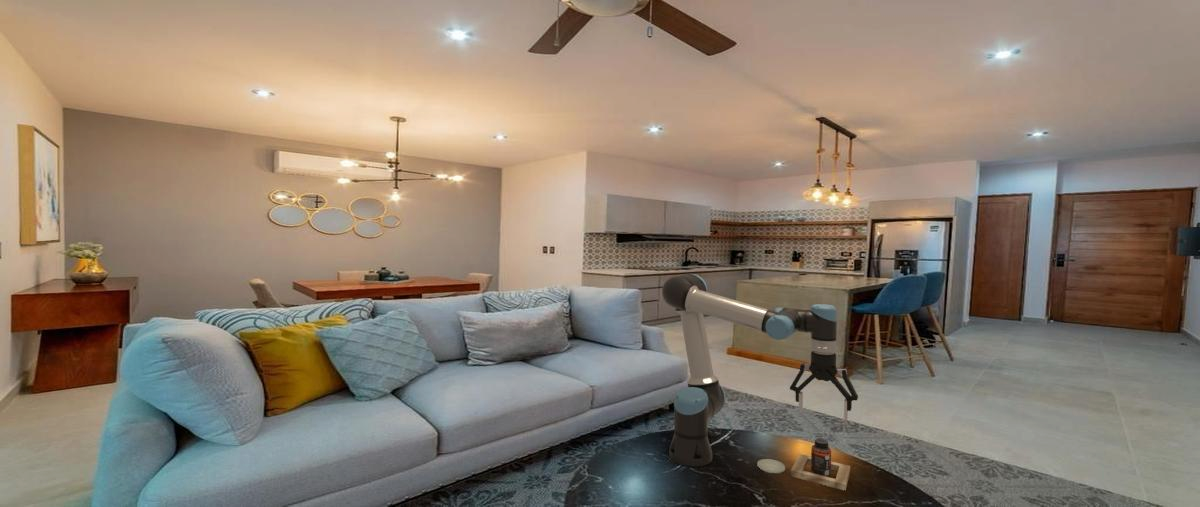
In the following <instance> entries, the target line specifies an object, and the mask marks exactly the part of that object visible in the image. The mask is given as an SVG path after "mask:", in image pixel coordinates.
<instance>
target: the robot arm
mask: <svg viewBox="0 0 1200 507" xmlns="http://www.w3.org/2000/svg"><path fill="white" fill-rule="evenodd" d="M708 291H709V290H708V286H707V283H706V281H705V280H704V279H703V278H702V277H701V276H699V275H698V274H695V273H685V274H680V275H675V276H672V277H670V278H668V279H666V280H665V282H664V283H663V285H662V289H661V295H662V298H663V301H664V302H665V303H666V304H667V305H668V306H669V307H672V308H674V309H675V312H676V313H677V314H679V315H680V320H681V326H682V332H683V339H684V345H685V351H686V356H687V362H688V368H689V369H688V370H689V374H690V377H689V379H688V380H687V387H684V388H681V389H679V390H677V391H676V393H675V395H674V401H673V407H674V408H673V410H674V418H673V420H674V421H673V425H674V428H673V429H674V431H673V432H674V434H673V436H672V440H671V442H670V446H669V450H668V453H669V454H668V455H669V458H670V459H671V460H672V461H673V462H674V463H676V464H679V465H681V466H686V467H695V468H697V467H703V466H706V465H709V464H711V462H712V461H713V451H712V450H713V449H712V447H711V444H710V441H709V437H708V421H709V420H710V419H712V417H714V416H715V415H717V414H718V413H719V412H720V411H722V409H723V407H724V406H725V403H726V399H727V396H726V392H725V389H724V388H723V386H722V385H720V382H719V378H718V377H717V376H716V375H715V374H714V371H713V370H714V369H713V364H712V359H711V353H710V347H709V340H708V336H707V329H706V325H705V324H706V322H705V318H704V315H707V316H709V317H710V316H711V317H714V318H717V319H720V320H723V321H725V322H726V321H727V322H730V323H731V324H732V323H733V324H736V325H738V326H739V325H740V326H742V327H745V328H749V329H752V330H755V331H759V332H762V333H764V334H767V336H768V337H770V338H772V339H774V340H779V341H781V340H785V339H788V338H790V337H791V336H792V335H793V334H794V333H796V332H799V333H800V332H801V333H810V349H811V351H810V364H806V363H804V362H802V363H801V364H800V367H799V371H798V372H797V374H796V377H795V378H794V379H793V381H792V383H791V385H790V386H789V390H790V391H794V393H795V402H796V403H798V413H799V414H802V413H803V410H804V409H803V408H804V407H803V406H804V404H803V403H804V398H803V396H804V394H803V393H804V392H803V390H804V388H806V386H808V384H810V383H811V382H812V381H813V380H814V379H816V380H817V381H824V382H831V383H832V384H833V385H834V387H836V388H837V390H838V391H839V393H841V395H842V396H843V397H844V400H843V401H844V402H843V405H844V406H843V407H844V408H843V422H848V418H849V417H848V416H849V415H848V414H849V412H851V411H852V405H853V404H852V402H853V401H855V402H856V401H858V400H859V399H858V398H859V395H858V393H857V391H856V389H855V387H854V385H853V384H852V381H851V379H850V378H849V376H848V369H847V368H844V367H843V369H842V368H840V369H839V368H837V354H836V352H837V326H838V325H837V324H838V322H837V321H838V319H837V308H836V306H834V305H832V304H824V303H821V304H820V303H817V304H812V305H811V308H810V309H801V308H800V309H799V308H789V307H788V308H787V307H775V309H774V310H772V309H768V308H764V307H762V306H758V305H753V304H751V303H746V302H744V301H739V300H736V299H732V298H730V297H725V296H723V295H719V294H715V293H712V292H708ZM807 370H809V371H810V373H811V374H810V375H809V376H808V377H807V378H806V379H805V380H804V381H803V382H802V383H801V384H799V386H797V385H798V383H799V381H800V380H801V378H802V376H803V375H804V372H807ZM837 374H839V376H840V377H842V379H843V381H844V384H845V386H846V387H847V389H846V388H845V387H844V385H843V384H842V383H841V382H840V381H839V380H838V378H837V376H836V375H837ZM847 390H848V391H849V392H848V391H847Z"/></svg>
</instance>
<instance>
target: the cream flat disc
mask: <svg viewBox="0 0 1200 507" xmlns="http://www.w3.org/2000/svg"><path fill="white" fill-rule="evenodd" d="M758 467H759V468H760V469H759V468H758ZM757 468H758V469H759V470H761V471H762V470H763V472H765V473H768V474H773V473H774V474H775V475H776V474H777V475H778V474H782V472H783V473H784V472H785V471H786V465H784V463H783V462H781V461H779V460H775V459H771V458H763V459H759V460H758V461H757Z"/></svg>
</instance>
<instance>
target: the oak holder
mask: <svg viewBox="0 0 1200 507" xmlns="http://www.w3.org/2000/svg"><path fill="white" fill-rule="evenodd" d="M807 465H810V466H811V455H805V454H803V453H802V454H801V453H798V455H797V458H796V460H795V462H794V464H793V465H792V467H791V469H790V477H792V478H796V479H799V480H803V481H807V482H810V483H813V484H817V483H818V485H821V484H822V486H825V485H826V487H829V488H833V489H837V490H841V491H844V490H845V491H846V490H847V486H848V481H849V478H850V474H851V465H848V464H843V463H840V462H835V461H831V471H834V472H837V474H836V477H835V478H833V477H831V476H830V477H826V476H822V475H818V474H814V473H812V472H810V471H805V470H806V468H807Z"/></svg>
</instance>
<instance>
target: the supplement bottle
mask: <svg viewBox="0 0 1200 507" xmlns="http://www.w3.org/2000/svg"><path fill="white" fill-rule="evenodd" d="M810 457H811V465H810V471H811V472H810V473H814V474H818V475H822V476H826V477H830V478H831V473H832V470H831V462H832V449H831V448H830V447H829V441H828V440H826V439H824V438H820V437H819V438H818V437H817V438H815V439H814V444H812V446H811V455H810Z"/></svg>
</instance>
